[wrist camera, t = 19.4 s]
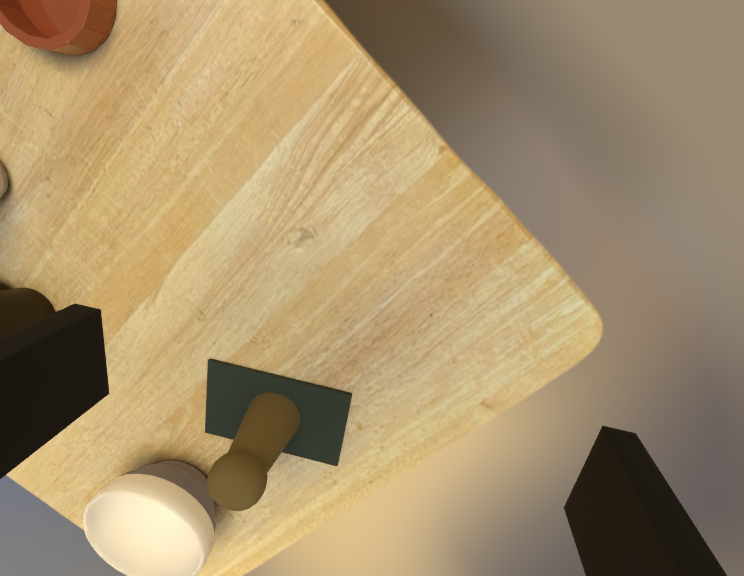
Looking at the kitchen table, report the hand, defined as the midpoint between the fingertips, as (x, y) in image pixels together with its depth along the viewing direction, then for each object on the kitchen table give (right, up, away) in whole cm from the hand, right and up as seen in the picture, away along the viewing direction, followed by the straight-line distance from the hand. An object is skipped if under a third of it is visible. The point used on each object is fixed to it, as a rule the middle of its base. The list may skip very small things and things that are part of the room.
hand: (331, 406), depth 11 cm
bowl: (-23, -22, +41) cm, 52 cm away
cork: (-10, -11, +35) cm, 38 cm away
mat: (-10, -11, +35) cm, 38 cm away
